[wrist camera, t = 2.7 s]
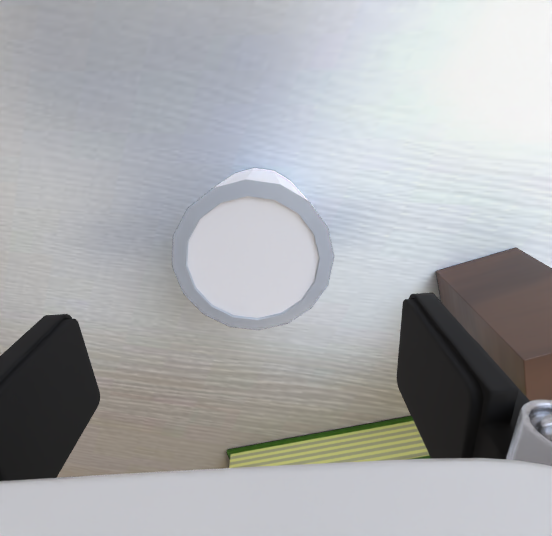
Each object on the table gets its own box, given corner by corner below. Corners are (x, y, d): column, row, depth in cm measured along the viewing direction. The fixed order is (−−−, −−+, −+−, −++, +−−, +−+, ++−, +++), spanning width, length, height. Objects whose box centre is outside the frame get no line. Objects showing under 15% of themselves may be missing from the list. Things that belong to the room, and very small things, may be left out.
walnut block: (435, 270, 24) (523, 360, 15) (516, 247, 23) (652, 326, 15) (446, 333, 26) (529, 443, 17) (521, 313, 25) (643, 416, 17)
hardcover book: (280, 581, 37) (281, 629, 34) (227, 449, 30) (221, 495, 26) (539, 541, 35) (568, 589, 32) (551, 390, 28) (590, 430, 24)
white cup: (333, 241, 23) (358, 295, 16) (234, 286, 24) (220, 352, 17) (285, 134, 20) (293, 148, 14) (177, 189, 21) (137, 226, 15)
